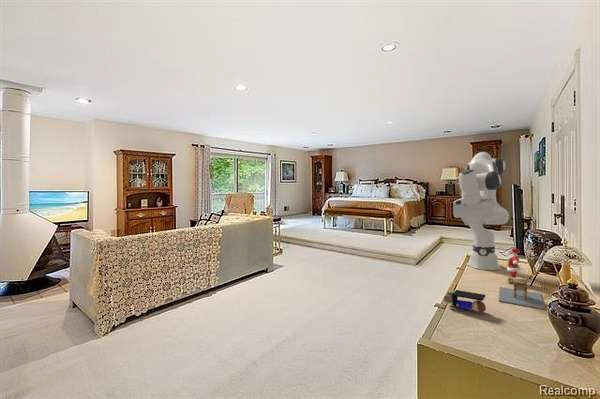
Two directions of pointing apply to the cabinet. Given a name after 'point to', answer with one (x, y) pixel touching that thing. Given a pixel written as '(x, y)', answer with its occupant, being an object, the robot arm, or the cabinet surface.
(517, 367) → the cabinet surface
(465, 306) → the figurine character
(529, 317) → the cabinet surface
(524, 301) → the mat
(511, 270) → the santa figurine
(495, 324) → the cabinet surface
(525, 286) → the stool
